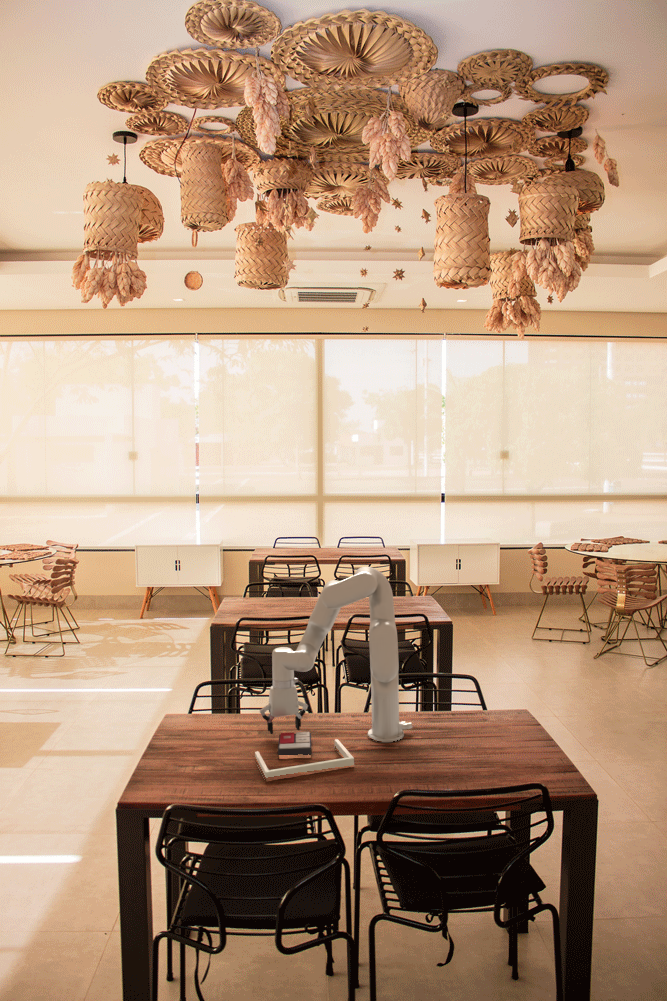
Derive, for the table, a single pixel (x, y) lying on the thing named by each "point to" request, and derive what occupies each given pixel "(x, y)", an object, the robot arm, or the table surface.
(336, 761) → the slot
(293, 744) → the calculator
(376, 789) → the table surface
